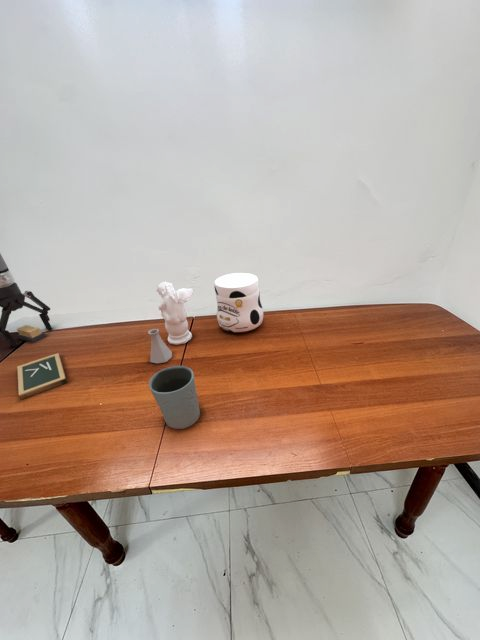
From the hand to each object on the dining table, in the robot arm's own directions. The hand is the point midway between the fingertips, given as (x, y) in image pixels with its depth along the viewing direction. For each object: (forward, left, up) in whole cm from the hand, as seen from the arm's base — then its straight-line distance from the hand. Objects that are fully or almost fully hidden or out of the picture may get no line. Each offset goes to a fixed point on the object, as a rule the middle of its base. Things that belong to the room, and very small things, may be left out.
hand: (32, 337), depth 114 cm
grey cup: (+82, -13, 0) cm, 83 cm away
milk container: (+74, +34, 0) cm, 81 cm away
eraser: (0, 0, 0) cm, 0 cm away
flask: (+59, +6, 0) cm, 59 cm away
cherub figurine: (+59, +19, 0) cm, 62 cm away
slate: (+29, -15, 0) cm, 33 cm away
